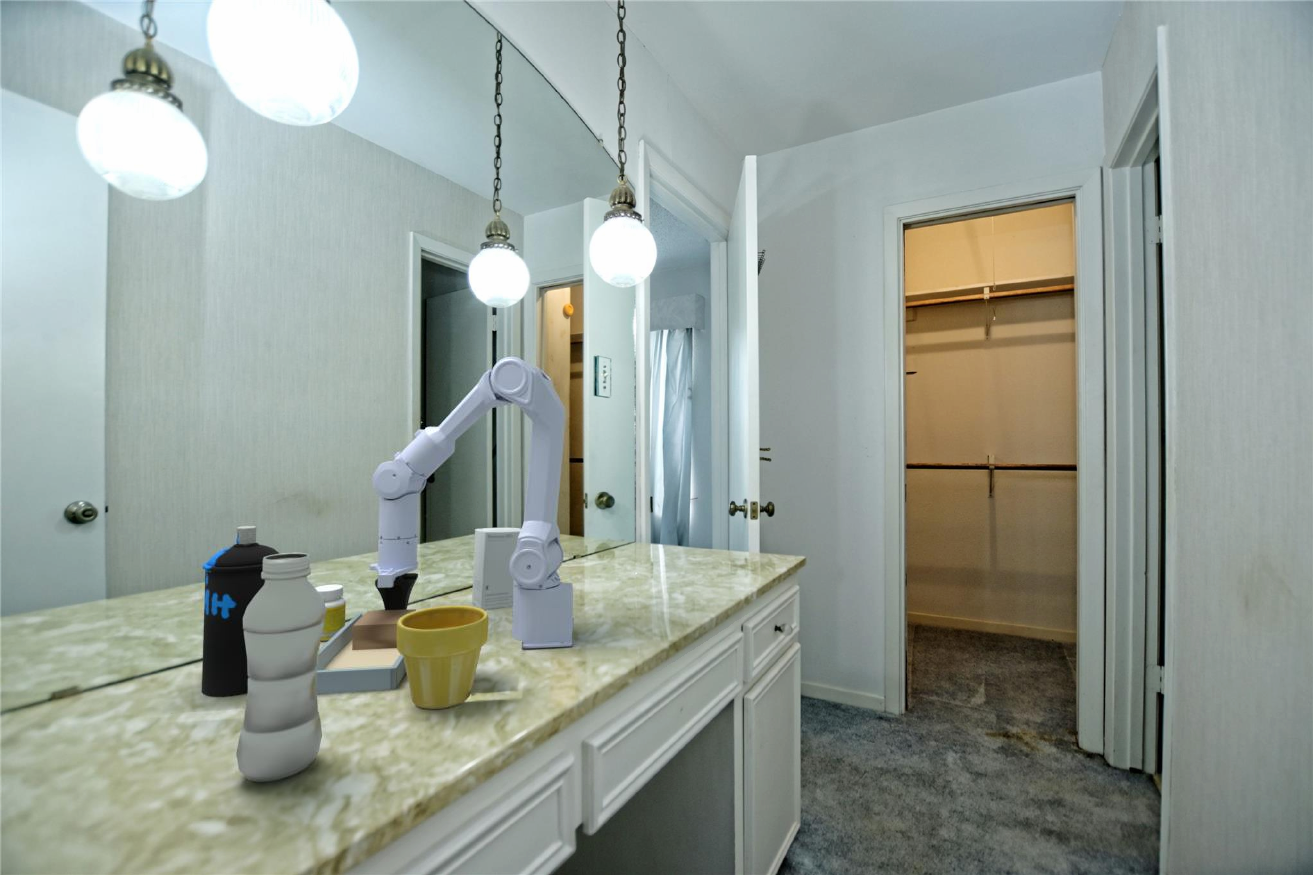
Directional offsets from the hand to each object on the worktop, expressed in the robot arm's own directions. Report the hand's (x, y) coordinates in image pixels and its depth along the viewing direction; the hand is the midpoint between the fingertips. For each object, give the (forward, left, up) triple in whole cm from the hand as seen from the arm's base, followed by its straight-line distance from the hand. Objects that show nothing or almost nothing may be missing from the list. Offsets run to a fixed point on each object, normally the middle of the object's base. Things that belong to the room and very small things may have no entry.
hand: (395, 621), depth 90 cm
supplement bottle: (+9, +3, -2) cm, 10 cm away
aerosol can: (+13, +19, -2) cm, 23 cm away
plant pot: (-11, +24, -2) cm, 27 cm away
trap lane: (-2, +12, -2) cm, 12 cm away
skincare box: (-15, -12, -2) cm, 19 cm away
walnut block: (0, +6, -1) cm, 6 cm away
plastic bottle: (+1, +38, -2) cm, 38 cm away
